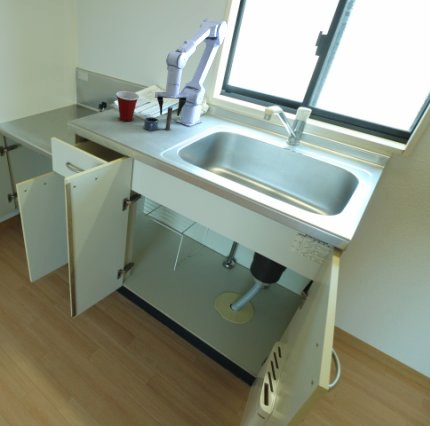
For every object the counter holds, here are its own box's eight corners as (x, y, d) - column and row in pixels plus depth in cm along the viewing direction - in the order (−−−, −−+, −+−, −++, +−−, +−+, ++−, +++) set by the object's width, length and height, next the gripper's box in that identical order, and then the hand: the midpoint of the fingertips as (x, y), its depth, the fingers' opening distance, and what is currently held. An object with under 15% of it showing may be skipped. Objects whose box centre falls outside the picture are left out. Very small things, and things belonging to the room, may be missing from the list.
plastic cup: (129, 125, 152) (131, 99, 145) (110, 119, 156) (111, 94, 149) (141, 119, 159) (143, 94, 152) (123, 114, 164) (124, 89, 157)
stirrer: (167, 128, 151) (170, 106, 145) (170, 129, 150) (173, 107, 144) (164, 129, 150) (167, 107, 144) (167, 130, 149) (170, 108, 143)
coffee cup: (144, 125, 153) (145, 116, 151) (157, 126, 153) (158, 117, 151) (143, 131, 146) (143, 123, 144) (157, 133, 146) (157, 124, 144)
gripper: (156, 84, 135) (153, 116, 143) (191, 86, 135) (186, 118, 143) (155, 80, 140) (152, 111, 148) (189, 82, 141) (184, 113, 149)
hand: (169, 114), depth 146 cm, fingers open, 7 cm apart
